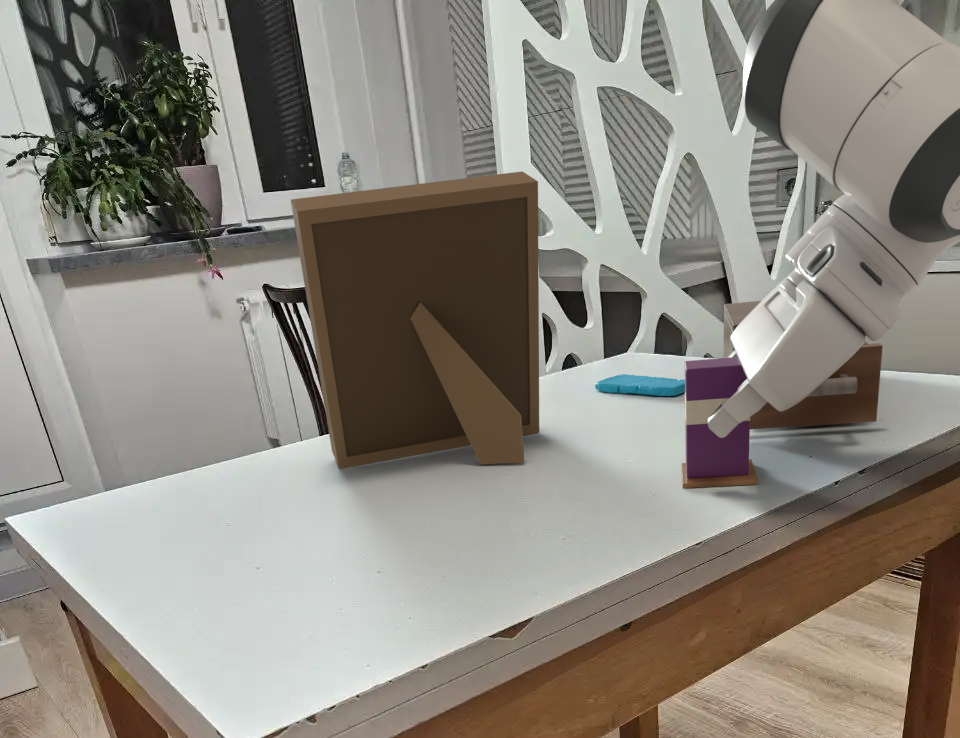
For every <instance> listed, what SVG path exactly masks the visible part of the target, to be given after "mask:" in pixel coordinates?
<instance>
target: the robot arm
mask: <svg viewBox="0 0 960 738" xmlns="http://www.w3.org/2000/svg"><path fill="white" fill-rule="evenodd" d="M904 1H905V0H773V1H772V3H771V4H770V5H768V7H767V9H766V10H765V11H764V13H763V14H762V15H761V17H760V18H759V20H758V21H757V23H756V25H755V26H754V28H753V30H752V32H751V35H750V37H749V40H748V42H747V45H746V50H745V54H744V60H743V69H742V93H743V94H742V95H743V104H744V105H743V106H744V110H745V116H746V118H747V120H748V121H749V123H750V125H752V127H755V128H756V129H758V130H759V131H760V132H762V133H763V134H765V135H766V136H768V137H769V138H770V139H772V140H774V141H775V142H777V143H778V144H779V145H781V146H782V147H783V148H785V149H786V150H789V151H792V152H794V153H795V154H796V155H797V156H798V157H799V158H800V159H801V160H803V161H804V162H805V163H806V164H807V165H808V166H810V168H812V169H813V170H814V171H815V172H816V173H817V174H818V175H820V176H821V177H822V178H823V179H824V180H825V181H827V182H828V183H829V184H830V185H831V186H832V187H833V188H835V189H836V190H837V191H838V192H842V193H843V194H842V195H841V196H839V197H837V198H836V199H835V200H834V201H833V202H832V203H831V204H830V206H829V207H828V208H827V209H826V210H825V211H824V212H823V213H822V214H821V215H820V216H819V217H818V219H817V220H815V222H814V223H813V224H812V225H811V226H810V227H809V228H808V230H807V231H805V233H804V234H803V235H802V236H801V237H800V238H799V239H798V241H797V242H796V243H794V245H793V246H792V247H791V248H790V249H789V250H788V252H787V253H785V255H784V257H785V259H786V261H788V262H789V263H790V264H791V266H793V267H794V269H793V270H792V271H791V272H790V274H788V275H787V276H786V277H785V278H783V279H782V280H781V281H780V282H779V283H778V284H777V285H776V286H775V287H774V288H773V289H772V290H771V291H770V292H769V293H768V294H767V295H766V296H765V297H764V298H763V299H762V300H760V301H761V302H760V303H759V304H758V305H757V306H756V307H755V308H754V309H753V310H752V311H751V312H750V313H749V314H748V315H747V316H746V317H745V318H744V320H743V321H742V322H741V323H740V324H739V325H738V326H737V327H736V329H735V330H734V332H733V333H732V335H731V337H730V340H731V342H732V344H733V347H734V349H735V350H734V351H733V353H732V354H731V355H730V356H729V357H728V358H731V357H738V358H739V361H740V363H741V365H742V368H743V370H744V372H745V375H746V377H747V379H746V380H745V381H744V382H743V383H742V384H741V385H740V386H739V388H738V391H737V392H736V393H735V394H734V395H733V396H732V397H731V398H729V399H728V400H727V401H726V402H725V403H724V404H723V405H722V404H720V406H719V407H718V408H717V409H716V410H715V411H714V412H713V413H712V414H711V415H710V416H709V417H708V419H707V421H708V427H709V429H710V430H711V431H712V432H713V433H715V434H716V435H717V436H718V437H720V438H724V437H726V436H727V435H728V434H729V433H730V432H731V431H732V430H733V429H734V428H735V427H736V426H737V425H738V424H739V423H741V422H743V421H744V420H746V419H747V418H749V417H750V416H752V415H753V414H755V413H757V412H758V411H759V410H760V409H761V408H762V407H763V406H764V405H765V404H766V403H767V402H769V403H770V404H771V405H772V406H773V407H774V408H775V409H777V410H778V411H785V410H787V409H789V408H791V407H792V406H794V405H796V404H797V403H799V402H800V401H802V400H803V399H804V398H806V397H807V396H808V395H809V394H810V393H811V392H813V391H814V390H815V389H816V388H817V387H818V386H820V385H821V384H822V383H823V382H824V381H825V380H826V379H828V378H829V377H830V376H831V375H832V374H833V373H834V372H836V371H837V370H838V369H839V368H840V367H841V366H842V365H843V364H844V363H846V362H847V361H848V360H849V359H850V358H851V357H852V356H853V355H854V354H855V353H856V352H857V351H858V350H859V349H860V347H861V346H862V345H863V343H864V341H866V339H867V338H868V339H869V340H871V341H872V342H877V341H879V340H881V339H882V338H883V337H884V336H885V335H887V333H888V332H890V330H891V329H892V328H894V326H895V325H896V324H897V323H898V321H899V318H900V313H901V312H900V310H901V304H902V303H903V302H904V301H905V299H906V298H907V297H908V296H909V295H911V293H912V292H913V291H914V290H915V289H916V288H917V287H918V286H919V285H920V284H921V283H922V282H923V280H924V279H925V278H926V276H927V274H928V273H929V271H930V270H931V268H932V266H933V265H934V264H935V263H936V261H937V260H938V259H939V258H940V257H941V256H942V255H943V254H944V253H945V252H947V250H949V249H950V248H952V247H953V246H955V245H957V244H958V243H960V47H959V46H957V45H956V44H954V43H951V42H949V41H947V40H946V39H945V38H944V37H942V36H941V35H940V34H938V33H937V32H936V31H935V30H933V29H932V28H930V27H929V26H928V25H927V24H925V23H924V22H923V21H921V20H920V19H919V18H917V17H916V16H915V15H914V14H912V13H911V12H910V11H908V10H907V9H906V8H904V7H903V6H902V4H903V3H904Z"/></svg>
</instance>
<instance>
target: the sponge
mask: <svg viewBox="0 0 960 738" xmlns="http://www.w3.org/2000/svg"><path fill="white" fill-rule="evenodd" d="M594 389H595V390H598V391H599V392H604V393H609V394H624V395H628V394H630V395H631V394H634V395H642V396H655V397H656V396H658V397H675V396H677V395H680V394H683V393H685V379H677V378H670V377H660V376H659V377H658V376H648V375H635V374H625V373H622V374H618V375H614V376H610V377H606V378H604V379H602V380H599V381H596V382H595V384H594Z"/></svg>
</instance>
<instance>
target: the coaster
mask: <svg viewBox="0 0 960 738" xmlns="http://www.w3.org/2000/svg"><path fill="white" fill-rule="evenodd" d="M680 465H681V466H680V467H681V483H682V484H681V485H682V489H693V488H712V487H731V486H732V487H733V486H752V485H758V484H759V479H758V476H757V472H756V469H755V466H754V462H753V459H751V458H749V474H748V475H738V476H720V477H702V478H687V473H686V462H682V463H681V464H680Z"/></svg>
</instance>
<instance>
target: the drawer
mask: <svg viewBox="0 0 960 738" xmlns="http://www.w3.org/2000/svg"><path fill="white" fill-rule="evenodd" d="M883 347H884V346H883V344H881V343H879V342H878V343H868V342H867V341H866V340H865V341H864V343H863V345H862V346H861V347H860V349H859V350H858V351H857V352H856V353H855V354H854V355H853V356H852V357H851V358H850V359H849V360H848V361H847V362H846V363H844V364H843V365H842V366H841V367H840V368H839V369H838V370H837V371H836V372H834V373H833V374H832V375H831V376H830V377H829V378H828V379H826V380H825V381H824V382H823V383H822V384H821V385H820V386H818V387H817V388H816V389H815V390H814V391H813V392H811V393H810V394H809V395H808V396H807V397H806V398H804V399H803V400H802V401H800V402H799V403H797V404H796V405H794V406H792V407H791V408H789V409H787V410H785V411H778V410H777V409H775V408H774V407H773V406H772V405H771V404H770V403H769V402H767V403H766V404H765V405H764V406H763V407H762V408H761V409H760V410H759V411H758V412H757V413H755V414H753V415H752V416H750V430H763V429H779V428H781V429H782V428H794V427H807V426H808V427H810V426H827V425H843V424H844V425H845V424H858V423H873V422H877V420H878V419H877V418H878V407H879V396H880V395H879V394H880V383H881V372H882V371H881V370H882V358H883Z"/></svg>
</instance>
